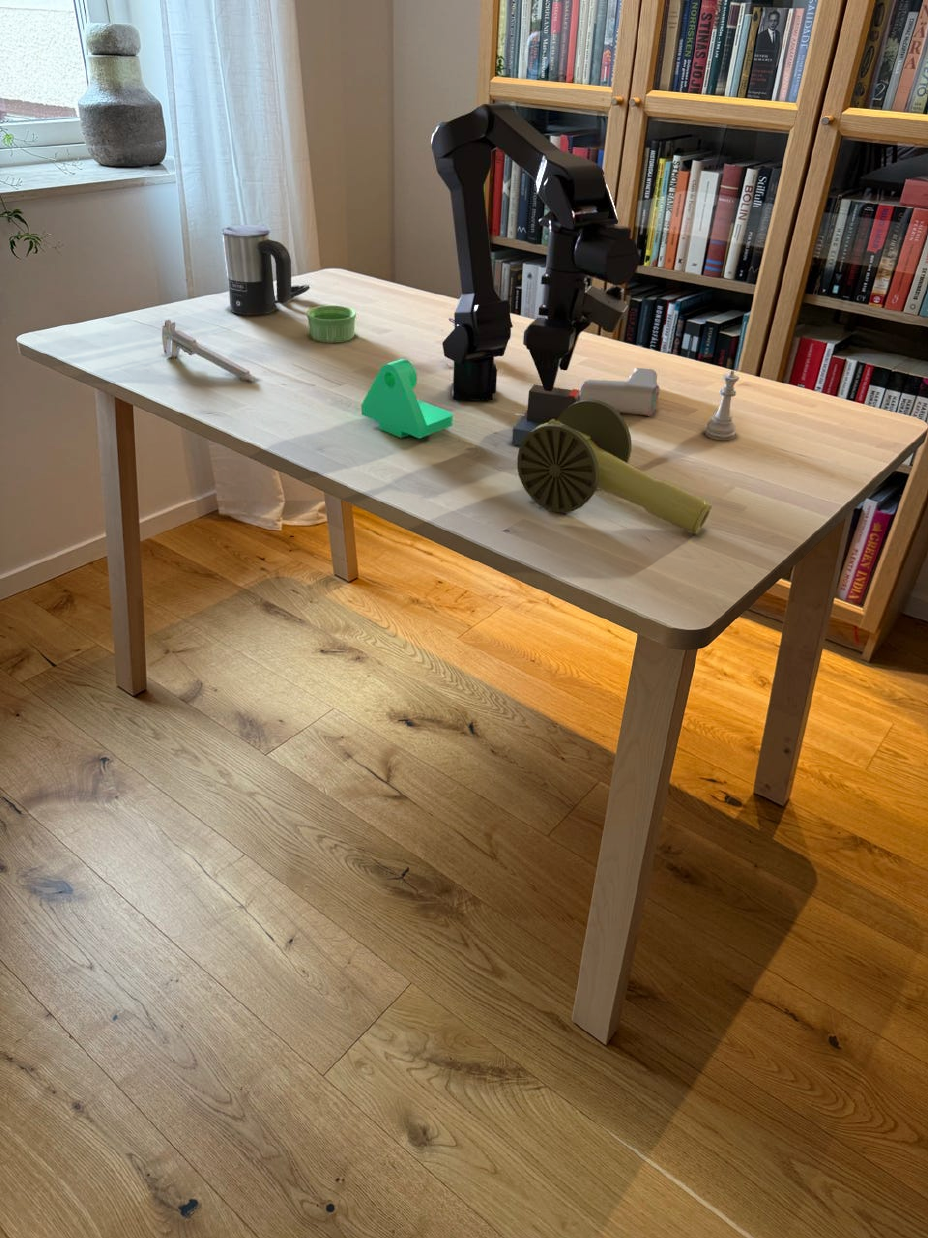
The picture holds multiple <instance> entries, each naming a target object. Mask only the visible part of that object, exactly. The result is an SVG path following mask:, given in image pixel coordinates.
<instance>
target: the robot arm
mask: <svg viewBox="0 0 928 1238" xmlns="http://www.w3.org/2000/svg"><path fill="white" fill-rule="evenodd" d="M430 142H431V143H430V144H431V145H430V146H431V151H432V154H433V159H434V164H435V167H436V169H435V170H436V172H437V174H438V176H439V177H440V178H441V180H442V181H443V183H444V184H445V186H446V187H447V189H448V190H449V195H450V201H451V210H452V219H453V228H454V235H455V244H456V254H457V262H458V269H459V270H458V271H459V278H460V288H461V295H460V298H459V300H458V302H457V305H456V308H455V310H454V314H453V316H454V317H453V318H454V319H453V320H454V321H453V322H455V325H454V329H453V330H452V331H451V332H450V333H449V334H448V335H447V336H446V338H444V340H443V341H442V343H441V344H442V345H441V346H442V351H443V356H444V357H445V358H447V359H449V360H451V361H453V375H452V383H451V396H452V400H455V401H457V400H458V401H487V402H489V401H490V402H491V401H492V402H493V400H494V394H496V393H497V378H498V366H497V364H496V363H495V358H497V357H504V355H505V353H506V349H507V347H508V344H509V340H511V337H512V328H514V325H513V322H512V318H511V304H510V302H509V300H508V299H504V300H503V299H502V298H501V296H500V295H499V294H498V292H497V291H496V289H495V281H494V272H493V262H492V252H491V243H490V233H489V224H488V214H487V205H486V196H485V184H486V181H487V179H488V176H489V174H490V171H491V168H492V167H493V152H494V151H495V150H497V149H499V150H500V151H501V152H502V153H503V154H504V155H505V156H507V157H508V158H509V159H510V160H511V161H512V162H513V163H514V164H516V165H517V166H518V167H519V168H520V169H521V170H523V172H524V173H526V174H527V175H528V176H529V177H530V178H532V180H533V181H534V182H535V186H536V193H537V195H538V197H539V198H540V199H541V201H542V203H544V205H545V206H546V207H547V209H548V210H549V211H548V212H547V213H546V214H545V215H543V216H542V217H541V218H540V219H538V223H539V225H540V226H542V227H545V228H549V230H548V242H547V250H546V251H547V252H546V263H545V272H544V274H542V275H541V278H540V279H541V280H540V285H544V286H543V287H544V288H543V296H542V297H543V298H542V303H541V305H539V307H538V314H537V315H538V316H543V317H536V318H535V319H534V320H533V321H532V322H530V323H529V324H528V326H527V327H525V329H524V330H523V339H522V340H523V341H522V345H524V346H525V348H526V350H528V351H529V354H530V357H531V359H532V361H533V363H534V366H535V368H536V371H537V374H538V377H539V380H540V382H541V385H542V386H543V388H544V390H545V391H552V390H553V387H555V383H556V379H557V376H558V372H559V369H560V371H568V369H569V366H570V364H571V360H572V358H573V355H574V352H575V349H576V346H577V344H578V343H577V342H578V340H579V337H580V335H581V333H583V331H585V330H586V329H587V328H589V327H590V326H591V324H592V323H593V324H595V325H597V326H599V327H601V328H602V330H603V331H605V332H606V333H611V334H612V333H614V332H615V331H616V329H617V328H618V327H619V324H620V323H621V320H622V319H623V317H624V314H625V313H626V311H627V309H628V307H629V305H628V301H627V300H624V299H625V298H624V297H625V296H624V293H625V290H624V288H623V287H622V286H623V285H624V284H627V283H628V282H629V281H630V280H631V279H632V277H633V276H634V275H635V273H636V271H637V269H638V267H639V264H640V257H641V255H640V253H639V247H638V245H637V243H636V241H635V240H634V239H632V238H631V237H632V236H631V235H632V228H631V227H629V226H627V225H618V224H619V218H618V215H617V212H616V211H617V208H616V206H615V205H614V202H613V199H612V196H611V193H610V188H609V186H608V184H607V181H606V173H605V170H604V169H603V167H601V166H600V164H598V163H596V162H594V161H593V160H590V159H588V158H586V157H584V156H580V155H578V154H574V153H569V152H566V151H564V150H562V149H560V148H559V147H558V146H556V145H555V144H554V143H553V142H551V140H549V139H548V138H546V137H545V136H544V135H543V133H541V132H539V130H538V129H536V128H535V127H534V126H532V125H531V124H530V123H529V122H527V121H526V120H525V119H524V118H523V117H521V116H520V115H519V114H518V113H517V112H516V109H515V107H514V106H512V105H510V104H508V103H506V102H501V103H498V102H497V103H483V104H481V105H479V106H477V107H476V108H474V109H473V110H472V111H470V112H468V113H465V114H463V115H461V116H458V117H456V118H453V119H451V120H449V121H441V122H440V123H439V124H438V125H437V127H436V129H435V131H434V132H433V134H432V135H431V141H430ZM594 279H597V280H599V281H601V282H605V283H608V284H611V285H612V286H610V287H608V288H607V289H606V290H605V289H604V288H598V287H596V286H594V285H593V281H594ZM544 317H545V318H544ZM546 317H547V318H546Z"/></svg>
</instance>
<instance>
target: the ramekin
mask: <svg viewBox="0 0 928 1238" xmlns="http://www.w3.org/2000/svg"><path fill="white" fill-rule="evenodd" d="M356 317H357V312H356V310H355V309H354V308H351V307H348V306H343V305H333V304H332V305H330V304H329V305H319V306H315V307H312V308H309V309H308V310H307V311H306V318H307V321H308V328H309V334H310V337H311V338H312V340H313V339H314V340H315V341H317V342H321V343H332V344H334V343H343V342H347V341H349V340H351V339H353V338H354V336H355V329H356V327H355V324H356Z"/></svg>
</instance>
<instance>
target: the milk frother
mask: <svg viewBox="0 0 928 1238" xmlns="http://www.w3.org/2000/svg"><path fill="white" fill-rule="evenodd" d="M220 233H221V235H222V241H223V251H224V259H225V266H226V267H225V268H226V275H227V285H228V296H229V306H228V309H229V311H230V312H232V313H235V314H238V315H245V316H246V315H247V316H248V315H249V316H258V315H265V314H269V313H273V312H274V311H276V310H277V307H278V306H277V304H286V303H288V302H289V301H291V300H293V299H294V298H295V297H298V296H300V295H302V294H305V293H306V292H307V291H309V290H310V288H311V287H310V285H309V284H303V285H298V284H296V285H295V284H293V285H292V259H291V258H292V257H291V255H290V252H289V250H288V249H287V248H286V246H285V245H284V244H283V243H281V242H280V241H277V240H274V239H273V240H272V239H270V233H271V229H270V228H269V227H267V226H262V225H250V224H247V225H246V224H245V225H244V224H241V225H232V226H228V227H223V228H222V229H221V230H220ZM272 257H273V260H274V263H275V279H276V280H275V281H276V282H275V283H276V284H275V285H276V295H275V287H274V286H275V285H274V273H273V262H272Z"/></svg>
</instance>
